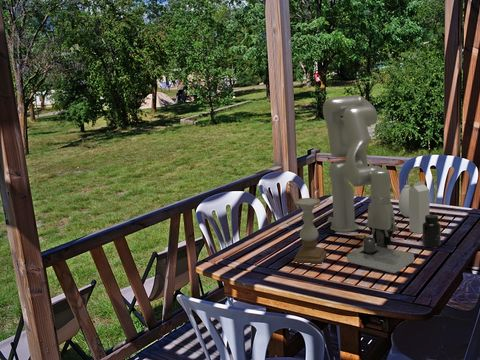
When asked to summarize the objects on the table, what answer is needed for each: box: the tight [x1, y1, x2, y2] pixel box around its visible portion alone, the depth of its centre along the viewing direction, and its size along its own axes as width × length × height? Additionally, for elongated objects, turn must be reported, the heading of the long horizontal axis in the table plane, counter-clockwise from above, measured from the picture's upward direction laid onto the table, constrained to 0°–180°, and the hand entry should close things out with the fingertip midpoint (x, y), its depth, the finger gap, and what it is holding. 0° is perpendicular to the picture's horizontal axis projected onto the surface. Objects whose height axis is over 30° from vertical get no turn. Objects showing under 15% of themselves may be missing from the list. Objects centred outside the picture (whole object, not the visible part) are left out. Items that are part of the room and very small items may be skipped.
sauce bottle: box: [398, 180, 411, 218], centre depth 248 cm, size 8×8×18 cm
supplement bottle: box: [422, 214, 442, 248], centre depth 209 cm, size 7×7×12 cm
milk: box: [408, 180, 430, 235], centre depth 226 cm, size 6×6×22 cm
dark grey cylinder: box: [375, 229, 389, 249], centre depth 210 cm, size 4×4×8 cm
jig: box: [346, 237, 415, 274], centre depth 197 cm, size 20×14×8 cm
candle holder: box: [293, 197, 328, 265], centre depth 203 cm, size 11×11×24 cm
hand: (382, 243), depth 211 cm, fingers closed on dark grey cylinder, 4 cm apart
